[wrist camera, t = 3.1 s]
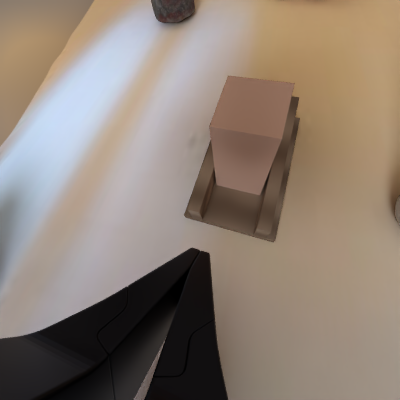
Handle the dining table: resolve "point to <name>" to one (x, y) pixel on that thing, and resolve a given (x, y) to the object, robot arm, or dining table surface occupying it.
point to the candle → (172, 9)
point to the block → (248, 131)
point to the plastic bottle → (397, 210)
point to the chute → (243, 201)
